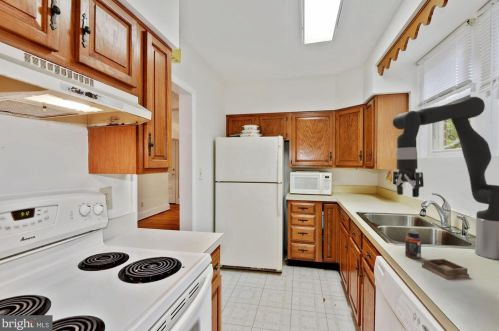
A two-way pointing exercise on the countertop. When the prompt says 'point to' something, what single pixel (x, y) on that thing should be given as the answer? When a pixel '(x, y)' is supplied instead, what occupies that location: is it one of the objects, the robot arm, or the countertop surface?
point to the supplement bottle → (413, 245)
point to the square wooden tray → (445, 268)
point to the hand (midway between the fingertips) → (407, 195)
